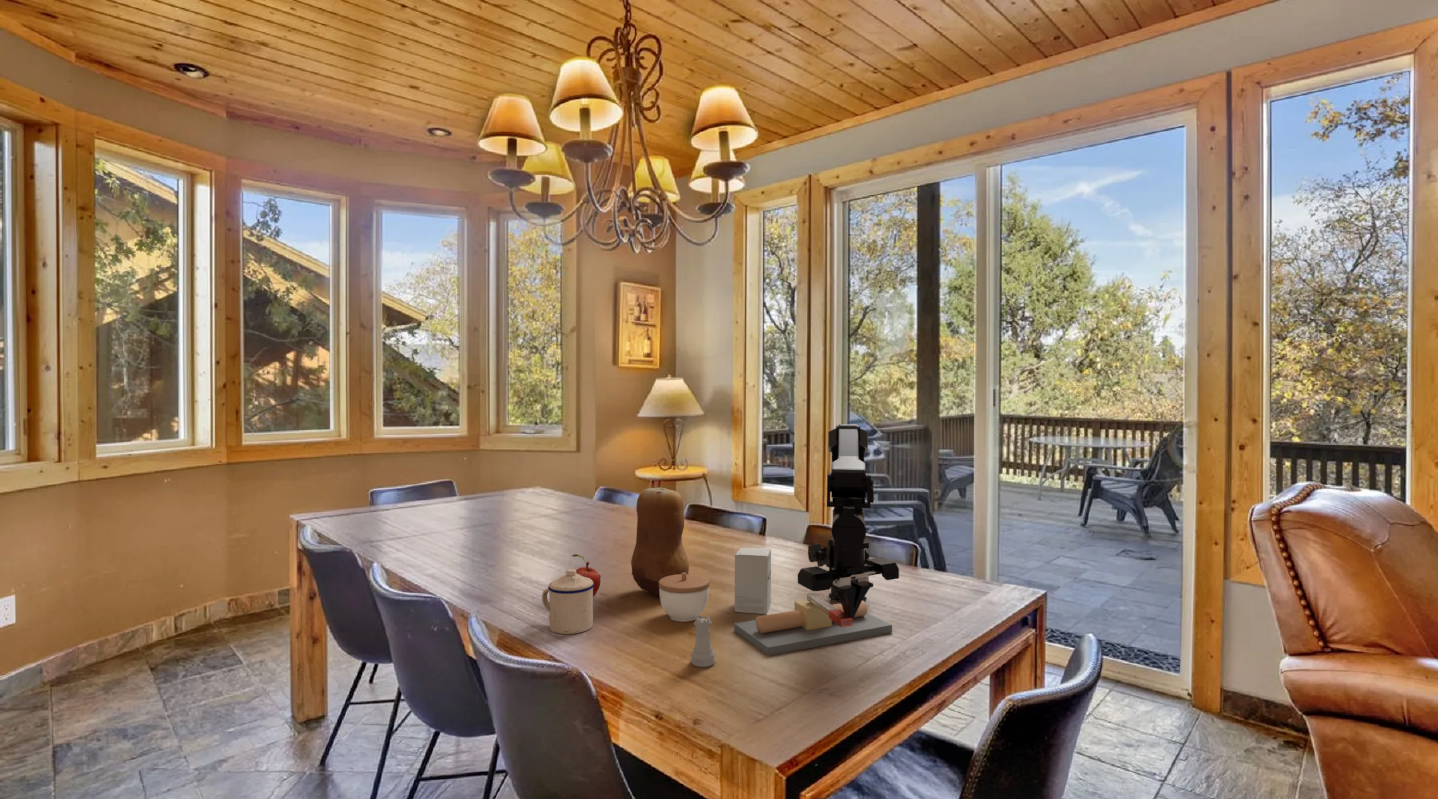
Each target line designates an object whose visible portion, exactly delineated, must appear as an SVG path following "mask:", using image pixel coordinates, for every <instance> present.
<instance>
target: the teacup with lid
mask: <svg viewBox="0 0 1438 799" xmlns="http://www.w3.org/2000/svg"><path fill="white" fill-rule="evenodd" d="M576 570H577V569H573V568H571V569H567V570H566V571H565V574H563V575H561V576H560V577H559V578H555V579H553V580H551V581H550V582H549V584H548V587H547V588H545V589H544V590H543V591H542V592H541V602H542V605H543V607H544V609H546V611H547V612H549V630H550V631H552V632H553V633H556V634H560V635H574V634H581V633H584V632H586V631H588V630H590V629H591V628H592V627H593V625H594V597H593V587H594V583H593V581H592V580H591V579H590V578H587V577H583V576H581V575H579V574H576ZM548 593H549V596H548ZM548 597H549V600H548Z"/></svg>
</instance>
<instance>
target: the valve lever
mask: <svg viewBox="0 0 1438 799" xmlns="http://www.w3.org/2000/svg"><path fill="white" fill-rule="evenodd" d="M806 600H807V601H809V602H811V603H813V604H814V605H815V606H817V607H818V608H819V609H821V610H822V611H823V612H824V613H826V614H827V615H828V616H829V618H830V619H831V620H832V621H834V622H835V623H836V624H838V625H839V626H840V627H847V626H852V617H850V616H849V615H847V614H846V613H845V612H843V611H842V610H840V609H836V608H835V607H833V606H832V604H831V603H830V602H828V601H827V600H825V599H824V598H822V597H821V596H820V594H819V593H814V592H813V593H807V594H806Z"/></svg>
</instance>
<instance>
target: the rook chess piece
mask: <svg viewBox="0 0 1438 799" xmlns="http://www.w3.org/2000/svg"><path fill="white" fill-rule="evenodd" d="M693 625H694V627H695V628H696V629H695V631H694V633H695V644H694V647H693V649H692V652H691V653H690V657H691V659H690V663H691V664H692V666H694V667H696V668H710V667H712V666H713V665H714V664H715V663H716V658H715V657H716V653H715V651H714V650H713V647H712V643H711V633H712V632H711V630H710V628H711V626H712V625H713V622H712V621H711V617H710V616H708V615H705V616H704V618H703V615H699V617H696V620H694V622H693Z"/></svg>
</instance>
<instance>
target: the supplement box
mask: <svg viewBox="0 0 1438 799" xmlns="http://www.w3.org/2000/svg"><path fill="white" fill-rule="evenodd" d="M771 604H772V549H771V548H762V547H761V548H760V547H740V548H738V550H737V551H736V553H735V554H734V613H735V612H736V613H746V614H759V615H768V611H769V609H770V606H771Z"/></svg>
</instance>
